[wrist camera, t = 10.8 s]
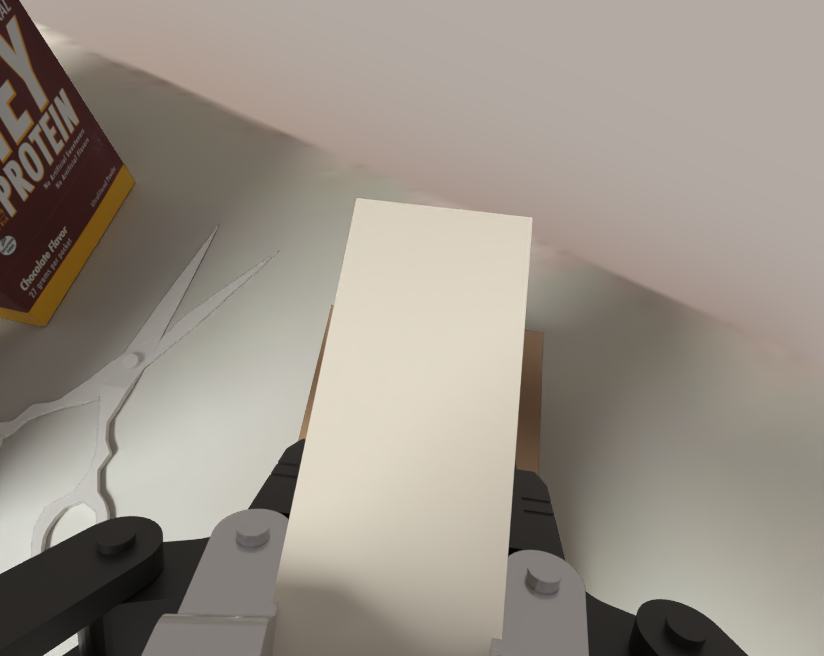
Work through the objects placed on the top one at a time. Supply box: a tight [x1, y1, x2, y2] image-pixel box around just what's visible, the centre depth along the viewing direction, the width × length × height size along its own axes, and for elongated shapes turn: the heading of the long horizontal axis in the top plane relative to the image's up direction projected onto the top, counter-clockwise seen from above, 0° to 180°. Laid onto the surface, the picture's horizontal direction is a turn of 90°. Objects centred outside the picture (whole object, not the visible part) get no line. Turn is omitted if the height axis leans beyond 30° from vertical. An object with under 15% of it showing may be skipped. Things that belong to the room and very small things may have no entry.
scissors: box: [0, 225, 277, 558], centre depth 27 cm, size 11×1×20 cm
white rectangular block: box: [272, 198, 533, 656], centre depth 12 cm, size 12×3×10 cm, turn 172°
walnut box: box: [298, 305, 543, 475], centre depth 20 cm, size 20×9×5 cm, turn 172°
